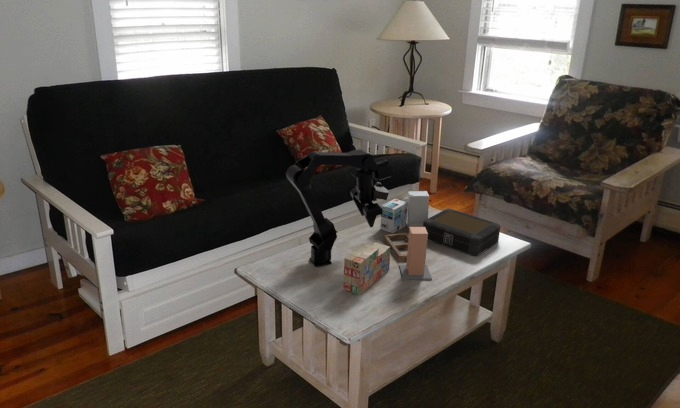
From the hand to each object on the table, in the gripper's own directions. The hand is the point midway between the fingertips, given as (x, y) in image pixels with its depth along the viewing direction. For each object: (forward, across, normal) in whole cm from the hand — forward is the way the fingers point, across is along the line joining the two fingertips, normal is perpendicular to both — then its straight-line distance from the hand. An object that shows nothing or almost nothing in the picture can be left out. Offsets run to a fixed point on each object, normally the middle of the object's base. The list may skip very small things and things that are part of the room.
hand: (367, 221), depth 211 cm
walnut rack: (+14, -3, -13) cm, 19 cm away
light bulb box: (+16, +16, -16) cm, 28 cm away
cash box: (+18, -2, -38) cm, 42 cm away
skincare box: (+18, +15, -26) cm, 35 cm away
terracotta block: (+11, -22, -10) cm, 26 cm away
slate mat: (+12, -22, -9) cm, 27 cm away
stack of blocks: (+10, -22, +9) cm, 25 cm away
